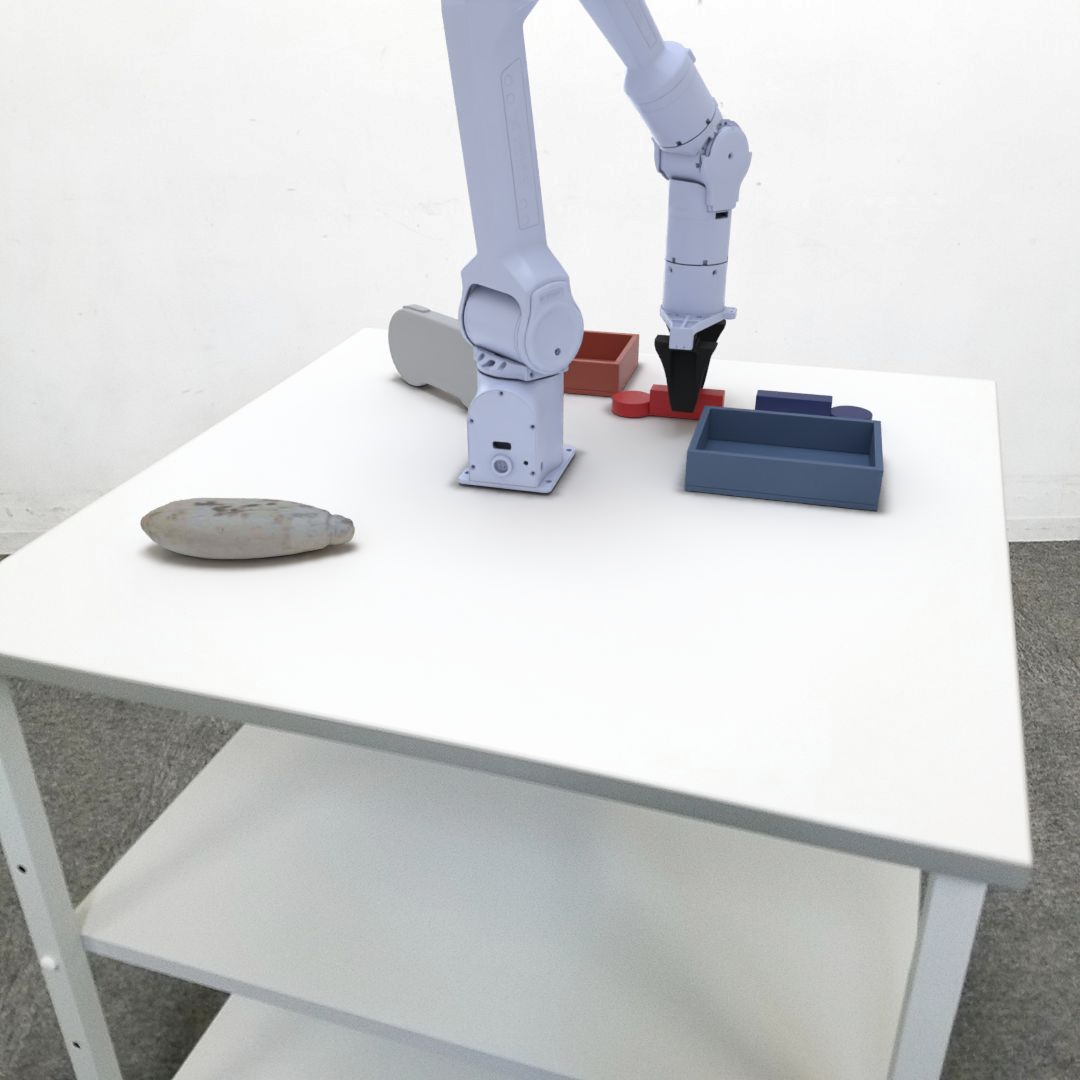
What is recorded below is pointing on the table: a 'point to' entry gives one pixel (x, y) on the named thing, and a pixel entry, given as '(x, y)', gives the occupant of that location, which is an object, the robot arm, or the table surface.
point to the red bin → (602, 363)
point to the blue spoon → (806, 405)
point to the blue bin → (786, 457)
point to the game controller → (432, 352)
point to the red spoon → (661, 403)
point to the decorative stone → (244, 527)
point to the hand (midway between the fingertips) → (686, 401)
